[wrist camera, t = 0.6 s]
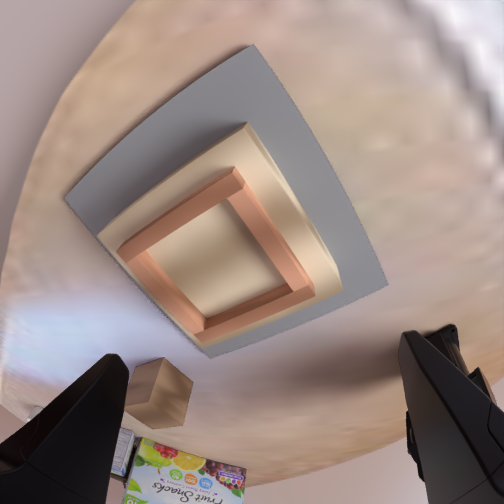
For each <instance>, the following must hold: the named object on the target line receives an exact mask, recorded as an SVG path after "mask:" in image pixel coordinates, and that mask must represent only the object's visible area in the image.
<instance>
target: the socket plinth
mask: <svg viewBox="0 0 504 504" xmlns="http://www.w3.org/2000/svg"><path fill="white" fill-rule="evenodd" d="M97 237H98V238H99V239H100V241H101V242H102V243H103V244H104V245H105V247H106V248H107V249H108V250H109V251H110V253H111V254H112V255H113V256H114V257H115V258H116V259H117V261H118V262H119V263H120V264H121V265H122V266H123V267H124V269H125V270H126V271H127V272H128V273H129V274H130V275H131V276H132V278H133V279H134V280H135V281H136V282H137V283H138V284H139V285H140V286H141V287H142V288H143V290H144V291H145V292H146V293H147V294H148V295H149V296H150V297H151V298H152V299H153V300H154V301H155V302H156V303H157V304H158V305H159V306H160V308H161V309H162V310H163V311H164V312H165V313H166V314H167V315H168V316H169V317H170V318H171V319H172V320H173V321H174V322H175V323H176V324H177V325H178V326H179V327H180V328H181V329H182V330H183V331H184V332H185V333H186V334H187V335H188V336H189V337H190V338H191V339H193V340H194V341H195V342H196V343H197V344H198V345H199V346H200V347H201V348H202V349H203V348H206V347H209V346H211V345H214V344H217V343H219V342H222V341H225V340H227V339H230V338H233V337H235V336H238V335H240V334H243V333H245V332H248V331H250V330H253V329H255V328H258V327H260V326H263V325H265V324H268V323H270V322H273V321H275V320H278V319H280V318H282V317H285V316H287V315H289V314H292V313H294V312H296V311H299V310H301V309H303V308H306V307H308V306H310V305H313V304H315V303H317V302H319V301H322V300H324V299H326V298H328V297H330V296H333V295H335V294H337V293H339V292H341V291H344V290H343V286H342V283H341V279H340V275H339V272H338V268H337V265H336V263H335V261H334V260H333V258H332V256H331V254H330V253H329V251H328V249H327V247H326V246H325V244H324V242H323V240H322V239H321V237H320V235H319V234H318V232H317V230H316V228H315V227H314V225H313V223H312V222H311V220H310V218H309V217H308V215H307V213H306V212H305V210H304V208H303V207H302V205H301V203H300V202H299V200H298V198H297V197H296V195H295V194H294V192H293V190H292V189H291V187H290V186H289V184H288V182H287V181H286V179H285V178H284V176H283V174H282V173H281V171H280V170H279V168H278V167H277V165H276V163H275V162H274V160H273V159H272V157H271V156H270V154H269V153H268V151H267V150H266V148H265V147H264V145H263V144H262V142H261V140H260V139H259V137H258V136H257V135H256V133H255V132H254V130H253V129H252V127H251V126H250V124H249V123H248V122H247V123H245V124H243V125H242V126H240V127H239V128H237V129H235V130H234V131H232V132H231V133H229V134H228V135H226V136H225V137H223V138H221V139H220V140H218V141H217V142H215V143H214V144H212V145H211V146H209V147H208V148H206V149H205V150H203V151H202V152H201V153H199V154H198V155H196V156H195V157H193V158H192V159H190V160H189V161H188V162H186V163H185V164H183V165H182V166H181V167H179V168H178V169H176V170H175V171H174V172H172V173H171V174H169V175H168V176H167V177H165V178H164V179H163V180H161V181H160V182H159V183H157V184H156V185H155V186H153V187H152V188H151V189H149V190H148V191H147V192H146V193H144V194H143V195H142V196H140V197H139V198H138V199H137V200H135V201H134V202H133V203H132V204H130V205H129V206H128V207H127V208H125V209H124V210H123V211H122V212H120V213H119V214H118V215H117V216H116V217H114V218H113V219H112V220H111V221H110V222H109V223H108V224H107V225H106V227H105V228H104V229H103V230H102V231H101V232H100V233H99V234H98V235H97Z"/></svg>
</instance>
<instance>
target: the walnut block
mask: <svg viewBox="0 0 504 504" xmlns="http://www.w3.org/2000/svg"><path fill="white" fill-rule="evenodd" d="M192 386H193V381H191V380H190V379H189V378H188V377H186V376H185V375H184V374H183V373H182V372H180V371H179V370H178V369H177V368H176V367H175V366H173V365H172V364H171V363H170V362H169V361H168V360H166V359H165V358H164V357H163V358H160V359H158V360H155V361H152V362H149V363H146V364H143V365H140V366H137V367H135V370H134V372H133V375H132V377H131V380H130V382H129V385H128V387H127V393H126V401H125V408H124V411H126V412H127V413H128V414H130V415H131V416H133V417H134V418H136V419H137V420H139V421H140V422H142V423H143V424H145V425H146V426H148V427H149V428H151V429H160V428H168V427H176V426H183V423H184V419H185V415H186V411H187V407H188V402H189V398H190V394H191V390H192Z"/></svg>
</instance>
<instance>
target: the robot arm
mask: <svg viewBox="0 0 504 504" xmlns="http://www.w3.org/2000/svg"><path fill="white" fill-rule="evenodd" d="M398 357H399V363H400V368H401V374H402V380H403V386H404V392H405V398H406V403H407V407H408V411H406V428H407V448H408V453H409V454H410V455H411V456H412V458H413V460H414V461H415V462H416V463H417V468H418V475H419V477H420V478H421V479H422V481H423V482H425V485H426V491H427V496H428V502H429V504H504V412H503V411H502V410H501V409H500V408H499V407H498V406H497V403H496V400H495V397H494V394H493V392H492V390H491V388H490V385H489V383H488V381H487V379H486V378H485V376H484V375H483V373H482V371H481V370H480V368H479V367H477V368H476V369H475V370H474V371H473V372H472V373H470V374H469V371H468V369H467V367H466V365H465V362H464V360H463V358H462V356H461V354H460V349H459V340H458V332H457V328H456V326H455V325H451V326H449V327H447V328H445V329H443V330H441V331H439V332H438V333H436V334H434V335H432V336H430V337H428V338H426V339H425V338H424V337H423V336H422V335H421V334H420V333H418V332H417V331H416V330H411V331H406V332H403V333H402V335H401V339H400V345H399V350H398ZM128 380H129V370H128V368H127V366H126V365H125V363H124V362H123V361H122V359H121V358H120V356H119V355H117V354H106V355H105V356H103V357H102V358H101V359H100V360H99V361H98V362H96V363H95V364H94V365H93V366H92V367H91V368H90V369H88V370H87V371H86V372H85V373H84V374H83V375H81V376H80V377H79V378H78V379H77V380H76V381H75V382H73V383H72V384H71V385H70V386H69V387H68V388H67V389H65V390H64V391H63V392H62V393H61V394H60V395H59V396H57V397H56V398H55V399H54V400H53V401H52V402H51V403H49V404H48V405H47V406H46V407H45V408H44V409H43V410H42V411H40V413H38V414H37V415H36V416H35V417H34V418H32V419H31V420H30V421H29V422H28V423H27V424H25V425H24V426H23V427H22V428H20V429H19V430H18V431H17V432H15V433H14V434H13V435H11V436H10V437H9V438H7V439H6V440H5V441H3V442H2V443H1V444H0V504H105V503H106V496H107V491H108V486H109V480H110V475H111V469H112V464H113V459H114V454H115V450H116V445H117V440H118V436H119V431H120V427H121V423H122V418H123V414H124V408H125V401H126V393H127V387H128Z"/></svg>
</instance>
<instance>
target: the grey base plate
mask: <svg viewBox="0 0 504 504" xmlns="http://www.w3.org/2000/svg"><path fill="white" fill-rule="evenodd" d="M247 122H248V123H249V124H250V126H251V127H252V129H253V130H254V132H255V133H256V135H257V136H258V137H259V139H260V140H261V142H262V144H263V145H264V147H265V148H266V150H267V151H268V153H269V154H270V156H271V157H272V159H273V160H274V162H275V163H276V165H277V167H278V168H279V170H280V171H281V173H282V174H283V176H284V178H285V179H286V181H287V182H288V184H289V186H290V187H291V189H292V190H293V192H294V194H295V195H296V197H297V198H298V200H299V202H300V203H301V205H302V207H303V208H304V210H305V212H306V213H307V215H308V217H309V218H310V220H311V222H312V223H313V225H314V227H315V228H316V230H317V232H318V234H319V235H320V237H321V239H322V240H323V242H324V244H325V246H326V247H327V249H328V251H329V253H330V254H331V256H332V258H333V260H334V261H335V263H336V265H337V268H338V272H339V275H340V279H341V283H342V286H343V290H344V291H341V292H339V293H337V294H335V295H333V296H330V297H328V298H326V299H324V300H322V301H319V302H317V303H315V304H313V305H310V306H308V307H306V308H303V309H301V310H299V311H296V312H294V313H292V314H289V315H287V316H285V317H282V318H280V319H278V320H275V321H273V322H270V323H268V324H265V325H263V326H260V327H258V328H255V329H253V330H250V331H248V332H245V333H243V334H240V335H238V336H235V337H233V338H230V339H227V340H225V341H222V342H219V343H217V344H214V345H211V346H209V347H206V348H203V349H202V348H201V347H200V346H199V345H198V344H197V343H196V342H195V341H194V340H193V339H191V338H190V337H189V336H188V335H187V334H186V333H185V332H184V331H183V330H182V329H181V328H180V327H179V326H178V325H177V324H176V323H175V322H174V321H173V320H172V319H171V318H170V317H169V316H168V315H167V314H166V313H165V312H164V311H163V310H162V309H161V308H160V306H159V305H158V304H157V303H156V302H155V301H154V300H153V299H152V298H151V297H150V296H149V295H148V294H147V293H146V292H145V291H144V290H143V288H142V287H141V286H140V285H139V284H138V283H137V282H136V281H135V280H134V279H133V278H132V276H131V275H130V274H129V273H128V272H127V271H126V270H125V269H124V267H123V266H122V265H121V264H120V263H119V262H118V261H117V259H116V258H115V257H114V256H113V255H112V254H111V253H110V251H109V250H108V249H107V248H106V247H105V245H104V244H103V243H102V242H101V241H100V239H99V238H98V237H97V235H98V234H99V233H100V232H101V231H102V230H103V229H104V228H105V227H106V225H107V224H108V223H109V222H110V221H111V220H112V219H113V218H114V217H116V216H117V215H118V214H119V213H120V212H122V211H123V210H124V209H125V208H127V207H128V206H129V205H130V204H132V203H133V202H134V201H135V200H137V199H138V198H139V197H140V196H142V195H143V194H144V193H146V192H147V191H148V190H149V189H151V188H152V187H153V186H155V185H156V184H157V183H159V182H160V181H161V180H163V179H164V178H165V177H167V176H168V175H169V174H171V173H172V172H174V171H175V170H176V169H178V168H179V167H181V166H182V165H183V164H185V163H186V162H188V161H189V160H190V159H192V158H193V157H195V156H196V155H198V154H199V153H201V152H202V151H203V150H205V149H206V148H208V147H209V146H211V145H212V144H214V143H215V142H217V141H218V140H220V139H221V138H223V137H225V136H226V135H228V134H229V133H231V132H232V131H234V130H235V129H237V128H239V127H240V126H242V125H243V124H245V123H247ZM64 199H65V200H66V201H67V203H68V204H69V205H70V207H71V208H72V209H73V211H74V212H75V213H76V214H77V216H78V217H79V218H80V220H81V221H82V222H83V223H84V225H85V226H86V227H87V228H88V230H89V231H90V232H91V233H92V234H93V236H94V237H95V238H96V239H97V240H98V242H99V243H100V244H101V245H102V246H103V248H104V249H105V250H106V251H107V252H108V254H109V255H110V256H111V257H112V258H113V259H114V260H115V262H116V263H117V264H118V265H119V266H120V267H121V268H122V270H123V271H124V272H125V273H126V274H127V275H128V276H129V277H130V279H131V280H132V281H133V282H134V283H135V284H136V285H137V286H138V287H139V288H140V289H141V290H142V292H143V293H144V294H145V295H146V296H147V297H148V298H149V299H150V300H151V301H152V302H153V303H154V304H155V305H156V306H157V307H158V308H159V309H160V310H161V311H162V312H163V314H164V315H165V316H166V317H167V318H168V319H169V320H170V321H171V322H172V323H173V324H174V325H175V326H176V327H177V328H178V329H179V330H180V331H182V332H183V333H184V334H185V335H186V336H187V337H188V338H189V339H190V340H191V341H192V342H193V343H194V344H195V345H196V346H197V347H198V348H199V349H200V350H201V351H202V352H204V353H205V354H206V355H207V356H208V357H209V358H213V357H216V356H219V355H222V354H225V353H228V352H231V351H233V350H236V349H239V348H242V347H245V346H247V345H250V344H253V343H255V342H258V341H261V340H263V339H266V338H269V337H271V336H274V335H276V334H279V333H281V332H284V331H286V330H289V329H291V328H294V327H296V326H299V325H301V324H304V323H306V322H308V321H311V320H313V319H315V318H318V317H320V316H322V315H325V314H327V313H329V312H332V311H334V310H336V309H339V308H341V307H343V306H345V305H347V304H350V303H352V302H354V301H356V300H358V299H361V298H363V297H365V296H367V295H369V294H371V293H373V292H375V291H377V290H380V289H382V288H384V287H386V286H388V285H389V284H388V282H387V280H386V277H385V275H384V272H383V270H382V268H381V266H380V263H379V261H378V259H377V256H376V254H375V252H374V250H373V248H372V245H371V243H370V241H369V239H368V237H367V235H366V232H365V230H364V228H363V226H362V224H361V222H360V220H359V218H358V216H357V214H356V212H355V210H354V208H353V206H352V204H351V202H350V200H349V198H348V196H347V194H346V192H345V190H344V188H343V186H342V184H341V183H340V181H339V179H338V177H337V175H336V173H335V171H334V170H333V168H332V166H331V164H330V162H329V160H328V159H327V157H326V155H325V153H324V152H323V150H322V148H321V146H320V145H319V143H318V141H317V140H316V138H315V136H314V134H313V133H312V131H311V129H310V128H309V126H308V124H307V123H306V121H305V120H304V118H303V116H302V115H301V113H300V111H299V110H298V108H297V107H296V105H295V104H294V102H293V100H292V99H291V97H290V96H289V94H288V93H287V91H286V90H285V88H284V87H283V85H282V84H281V82H280V81H279V79H278V78H277V76H276V75H275V73H274V72H273V70H272V69H271V68H270V66H269V65H268V63H267V62H266V60H265V59H264V58H263V56H262V55H261V53H260V52H259V51H258V49H257V48H256V47H255V45H254V44H253V45H251V46H249V47H247V48H246V49H244V50H242V51H241V52H239V53H237V54H236V55H234V56H233V57H231V58H229V59H228V60H226V61H225V62H223V63H222V64H220V65H218V66H217V67H215V68H214V69H212V70H211V71H209V72H208V73H206V74H205V75H204V76H202V77H201V78H199V79H198V80H196V81H195V82H194V83H192V84H191V85H189V86H188V87H187V88H185V89H184V90H183V91H181V92H180V93H178V94H177V95H176V96H174V97H173V98H172V99H171V100H169V101H168V102H167V103H165V104H164V105H163V106H162V107H160V108H159V109H158V110H157V111H155V112H154V113H153V114H152V115H150V116H149V117H148V118H147V119H146V120H144V121H143V122H142V123H141V124H140V125H138V126H137V127H136V128H135V129H134V130H133V131H132V132H130V133H129V134H128V135H127V136H126V137H125V138H124V139H123V140H121V141H120V142H119V143H118V144H117V145H116V146H115V147H114V148H113V149H112V150H111V151H109V152H108V153H107V154H106V155H105V156H104V157H103V158H102V159H101V160H100V161H99V162H98V163H97V164H96V165H95V166H94V167H93V168H92V169H91V170H90V171H89V172H88V173H87V174H86V175H85V176H84V177H83V178H82V179H81V180H80V181H79V182H78V183H77V185H76V186H75V187H74V188H73V189H72V190H71V191H70V192H69V193H68V194H67V195H66V196H65V198H64Z"/></svg>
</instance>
